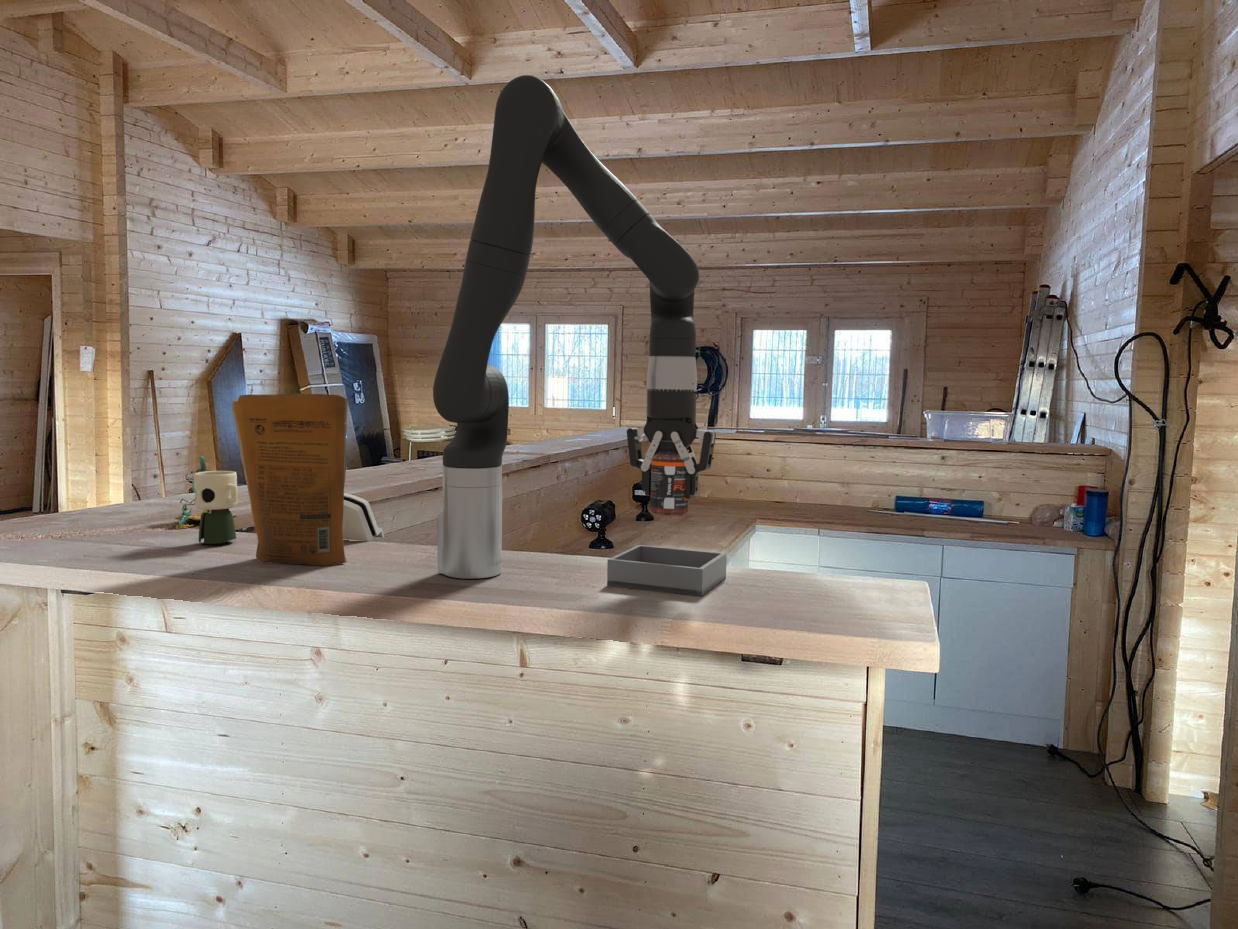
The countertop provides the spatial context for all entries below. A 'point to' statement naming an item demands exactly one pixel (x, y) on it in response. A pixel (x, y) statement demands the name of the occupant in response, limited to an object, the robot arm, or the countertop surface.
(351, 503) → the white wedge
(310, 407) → the pancake mix bag
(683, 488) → the supplement bottle
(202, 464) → the frog figurine
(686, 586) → the bin
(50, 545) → the countertop surface
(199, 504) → the character mug
